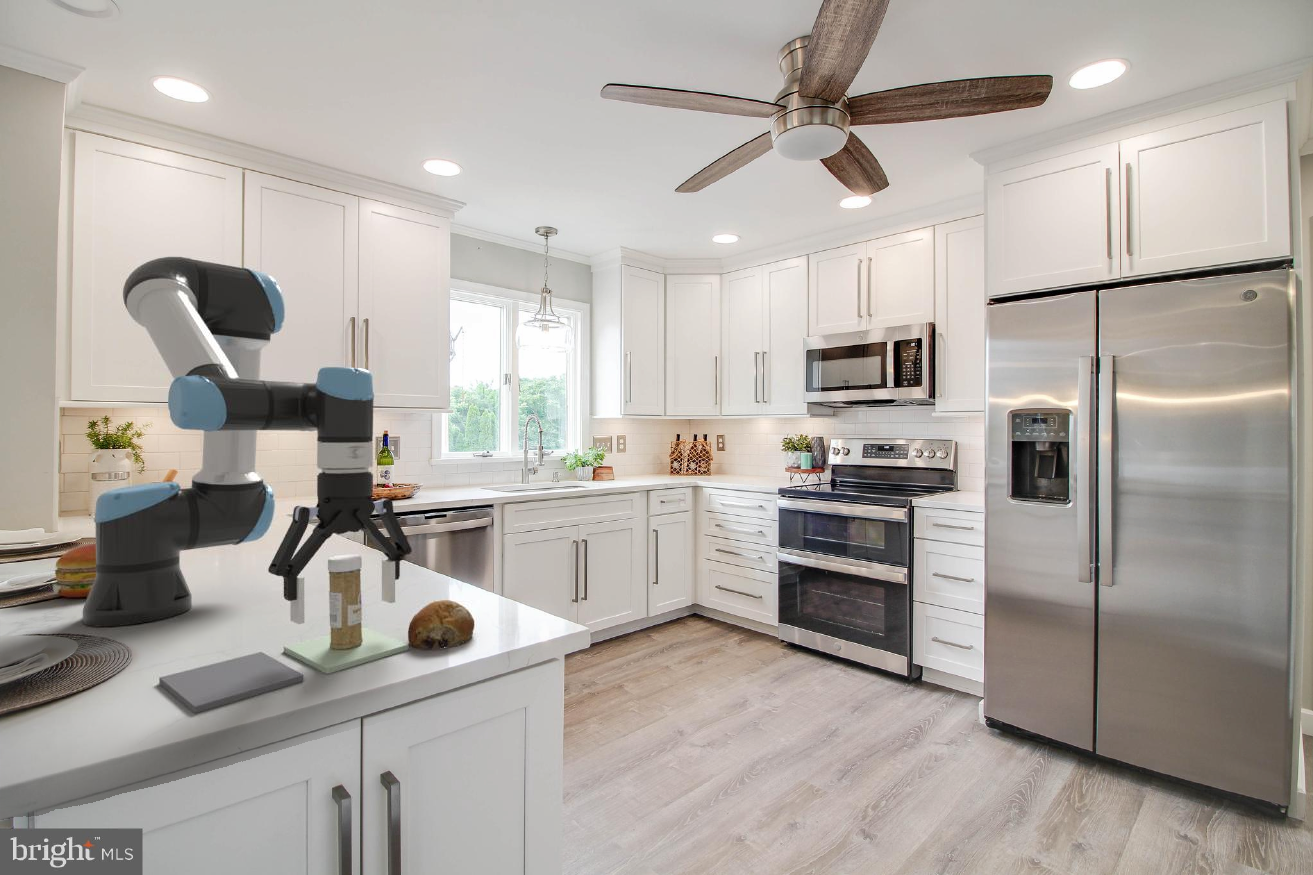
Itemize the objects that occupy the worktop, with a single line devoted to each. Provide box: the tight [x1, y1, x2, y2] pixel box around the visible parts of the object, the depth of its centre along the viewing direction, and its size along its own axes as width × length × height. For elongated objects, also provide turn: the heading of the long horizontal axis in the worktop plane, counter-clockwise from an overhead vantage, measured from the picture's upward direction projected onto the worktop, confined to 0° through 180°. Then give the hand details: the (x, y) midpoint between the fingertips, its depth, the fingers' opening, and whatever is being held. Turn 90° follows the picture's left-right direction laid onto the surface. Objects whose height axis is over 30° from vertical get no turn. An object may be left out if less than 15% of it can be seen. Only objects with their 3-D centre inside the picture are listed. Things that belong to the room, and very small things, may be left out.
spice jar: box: [327, 553, 363, 649], centre depth 94 cm, size 5×5×14 cm
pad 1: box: [158, 651, 305, 714], centre depth 82 cm, size 14×12×1 cm
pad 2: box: [283, 626, 410, 675], centre depth 94 cm, size 14×12×1 cm
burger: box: [52, 543, 96, 598], centre depth 127 cm, size 13×14×10 cm
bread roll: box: [407, 599, 475, 650], centre depth 99 cm, size 10×10×8 cm
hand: (345, 611), depth 94 cm, fingers open, 13 cm apart
